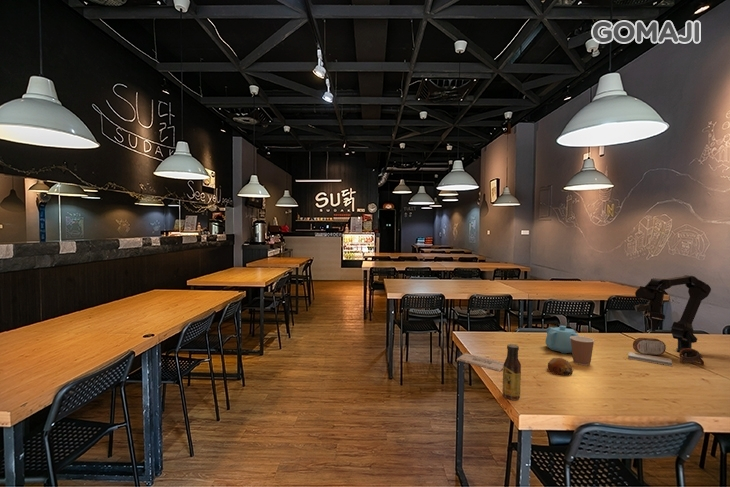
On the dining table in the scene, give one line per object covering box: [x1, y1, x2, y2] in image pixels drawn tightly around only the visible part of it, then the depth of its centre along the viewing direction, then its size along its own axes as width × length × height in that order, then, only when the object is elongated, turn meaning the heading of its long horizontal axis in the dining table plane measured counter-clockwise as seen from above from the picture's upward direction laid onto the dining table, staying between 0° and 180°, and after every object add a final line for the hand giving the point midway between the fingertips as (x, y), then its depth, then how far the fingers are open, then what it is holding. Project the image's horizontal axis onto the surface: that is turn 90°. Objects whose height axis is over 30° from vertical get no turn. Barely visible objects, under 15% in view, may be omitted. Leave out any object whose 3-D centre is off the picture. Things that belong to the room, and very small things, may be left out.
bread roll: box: [547, 357, 574, 377], centre depth 159 cm, size 10×10×8 cm
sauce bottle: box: [502, 343, 522, 401], centre depth 132 cm, size 7×6×20 cm
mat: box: [627, 351, 673, 367], centre depth 177 cm, size 12×17×1 cm
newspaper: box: [456, 352, 504, 372], centre depth 170 cm, size 23×12×2 cm, turn 47°
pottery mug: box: [678, 348, 705, 366], centre depth 172 cm, size 12×10×8 cm
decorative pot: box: [544, 325, 580, 355], centre depth 190 cm, size 16×16×14 cm
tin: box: [632, 337, 667, 356], centre depth 184 cm, size 15×3×8 cm, turn 84°
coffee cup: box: [570, 335, 595, 366], centre depth 170 cm, size 10×10×12 cm
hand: (651, 330), depth 188 cm, fingers open, 9 cm apart
